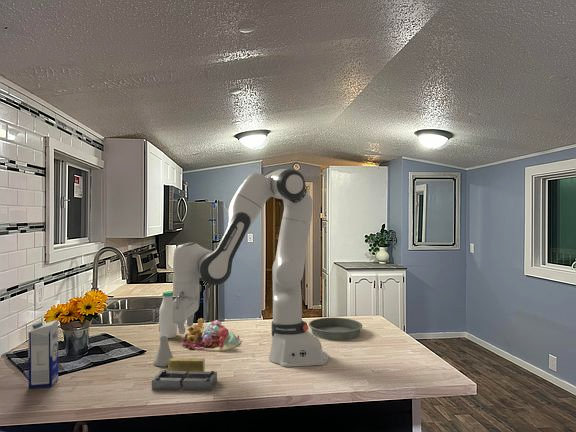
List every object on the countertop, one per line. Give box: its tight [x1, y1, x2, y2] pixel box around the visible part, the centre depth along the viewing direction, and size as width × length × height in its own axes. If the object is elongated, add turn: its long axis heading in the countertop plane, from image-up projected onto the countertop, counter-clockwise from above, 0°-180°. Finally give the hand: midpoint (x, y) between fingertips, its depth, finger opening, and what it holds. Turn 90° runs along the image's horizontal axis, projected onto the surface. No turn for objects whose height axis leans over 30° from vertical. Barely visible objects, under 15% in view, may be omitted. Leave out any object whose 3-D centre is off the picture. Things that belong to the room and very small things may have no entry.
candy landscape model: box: [181, 317, 242, 353], centre depth 186 cm, size 25×24×9 cm
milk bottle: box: [158, 290, 178, 339], centre depth 194 cm, size 8×8×20 cm
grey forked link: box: [182, 370, 218, 392], centre depth 140 cm, size 9×8×3 cm
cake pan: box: [308, 317, 363, 341], centre depth 199 cm, size 25×25×4 cm
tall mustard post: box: [167, 357, 206, 376], centre depth 150 cm, size 12×3×5 cm, turn 88°
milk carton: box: [27, 319, 59, 389], centre depth 141 cm, size 7×7×20 cm
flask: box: [153, 336, 174, 368], centre depth 159 cm, size 7×7×10 cm
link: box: [151, 369, 188, 391], centre depth 140 cm, size 9×8×3 cm
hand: (186, 329), depth 150 cm, fingers open, 8 cm apart
